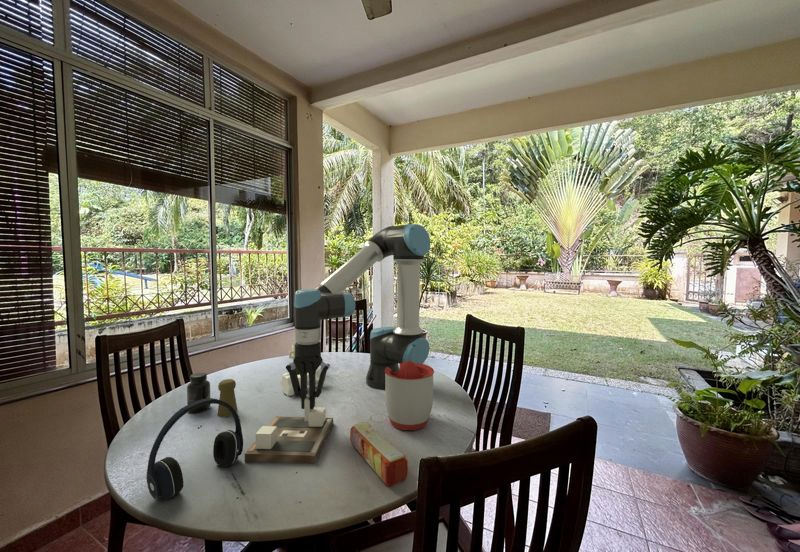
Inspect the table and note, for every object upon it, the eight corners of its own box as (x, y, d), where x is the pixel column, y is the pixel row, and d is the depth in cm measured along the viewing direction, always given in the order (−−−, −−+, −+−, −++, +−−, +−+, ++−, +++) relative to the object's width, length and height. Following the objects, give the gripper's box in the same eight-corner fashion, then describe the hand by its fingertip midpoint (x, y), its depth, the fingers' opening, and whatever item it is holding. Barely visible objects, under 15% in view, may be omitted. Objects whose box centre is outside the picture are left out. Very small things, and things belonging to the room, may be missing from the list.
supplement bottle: (213, 409, 114) (212, 374, 114) (190, 415, 109) (189, 379, 109) (206, 402, 119) (206, 369, 118) (184, 409, 114) (183, 374, 113)
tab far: (325, 420, 102) (325, 407, 102) (322, 426, 98) (322, 413, 98) (312, 419, 103) (312, 407, 102) (308, 426, 99) (308, 413, 98)
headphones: (231, 452, 89) (230, 385, 88) (247, 461, 85) (246, 391, 84) (143, 498, 72) (140, 415, 71) (158, 511, 68) (155, 424, 67)
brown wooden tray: (333, 424, 104) (333, 417, 104) (314, 463, 84) (314, 454, 84) (276, 422, 105) (276, 415, 105) (244, 461, 85) (244, 452, 85)
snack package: (348, 446, 93) (348, 422, 92) (369, 439, 96) (369, 416, 96) (385, 491, 75) (385, 462, 74) (409, 481, 78) (410, 453, 78)
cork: (241, 410, 114) (241, 378, 113) (227, 418, 108) (226, 384, 107) (227, 407, 115) (227, 376, 115) (213, 415, 110) (212, 382, 109)
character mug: (293, 379, 143) (293, 349, 142) (285, 374, 148) (285, 345, 147) (315, 372, 151) (315, 344, 150) (307, 369, 156) (307, 341, 155)
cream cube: (277, 440, 91) (276, 426, 91) (270, 449, 87) (270, 434, 87) (262, 440, 91) (262, 425, 91) (255, 448, 87) (255, 433, 87)
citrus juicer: (404, 405, 118) (405, 349, 117) (443, 422, 106) (444, 360, 105) (370, 419, 107) (370, 358, 106) (409, 441, 95) (410, 372, 94)
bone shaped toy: (289, 400, 123) (290, 379, 122) (279, 391, 129) (279, 371, 128) (324, 388, 134) (325, 369, 133) (313, 381, 140) (314, 362, 139)
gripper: (281, 344, 96) (282, 424, 97) (326, 345, 95) (326, 425, 97) (290, 338, 103) (291, 412, 105) (332, 338, 103) (332, 413, 104)
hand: (308, 418), depth 101 cm, fingers closed
